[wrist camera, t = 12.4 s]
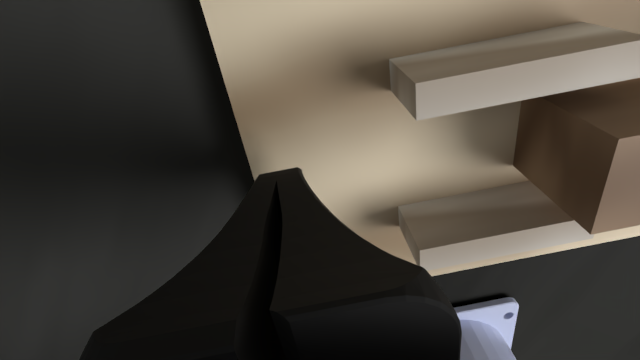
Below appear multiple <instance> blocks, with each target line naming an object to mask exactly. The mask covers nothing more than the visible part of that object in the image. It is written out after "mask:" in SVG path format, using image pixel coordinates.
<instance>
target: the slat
mask: <svg viewBox="0 0 640 360" xmlns="http://www.w3.org/2000/svg"><path fill="white" fill-rule="evenodd" d="M513 166H514V167H515V168H516V169H517V170H518V171H519V172H521V173H522V174H523V175H524V176H525V177H526V178H527V179H528V180H530V181H531V182H532V183H533V184H534V185H535V186H536V187H537V188H539V189H540V190H541V191H542V192H543V193H544V194H545V195H546V196H548V197H549V198H550V199H551V200H552V201H553V202H554V203H555V204H557V205H558V206H559V207H560V208H561V209H562V210H563V211H564V212H566V213H567V214H568V215H569V216H570V217H571V218H572V219H573V220H575V221H576V222H577V223H578V224H579V225H580V226H581V227H582V228H584V229H585V230H586V231H587V232H588V233H589V234H590V235H592V234H597V233H602V232H607V231H612V230H617V229H623V228H628V227H633V226H638V225H640V78H635V79H630V80H625V81H620V82H615V83H609V84H604V85H599V86H594V87H589V88H584V89H578V90H573V91H568V92H563V93H558V94H553V95H547V96H542V97H537V98H532V99H527V100H522V101H521V107H520V115H519V122H518V130H517V138H516V145H515V153H514V160H513Z"/></svg>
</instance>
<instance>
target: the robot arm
mask: <svg viewBox="0 0 640 360" xmlns="http://www.w3.org/2000/svg"><path fill="white" fill-rule="evenodd" d="M518 308H519V305H518V303H517V302H516V300H515V299H514V298H511V297H506V298H501V299H496V300H491V301H485V302H480V303H475V304H470V305H465V306H460V307H455V308H453V306H452V304H451V303H450V301H449V300H448V298H447V297H446V295H445V294H444V292H443V291H442V290H441V288H440V287H439V285H438V284H437V283H436V281H435V280H434V279H433V278H432V276H431V275H430V274H429V273H428V272H427V270H426V269H425V268H423V267H421V266H418V265H416V264H413V263H411V262H408V261H406V260H403V259H401V258H398V257H396V256H394V255H391V254H389V253H387V252H385V251H384V250H382V249H380V248H378V247H376V246H375V245H373V244H372V243H370V242H368V241H367V240H365V239H364V238H362V237H360V236H359V235H357V234H356V233H355V232H354V231H352V230H351V229H350V228H348V227H347V226H346V225H345V224H343V223H342V222H341V221H340V220H339V219H338V218H337V217H336V216H334V215H333V214H332V213H331V212H330V210H329V209H328V208H327V207H326V206H325V205H324V204H323V203H322V202H321V201H320V199H319V198H318V197H317V196H316V194H315V193H314V192H313V191H312V189H311V188H310V186H309V185H308V183H307V181H306V180H305V178H304V176H303V173H302V170H301V169H300V168H298V167H295V168H290V169H285V170H280V171H275V172H269V173H264V174H259V175H258V177H257V178H256V180H255V181H254V183H253V185H252V186H251V188H250V190H249V191H248V193H247V195H246V196H245V198H244V199H243V201H242V202H241V204H240V205H239V207H238V208H237V210H236V211H235V213H234V214H233V216H232V217H231V218H230V219H229V221H228V222H227V223H226V225H225V226H224V227H223V229H222V230H221V231H220V232H219V233H218V235H217V236H216V237H215V238H214V239H213V240H212V241H211V242H210V243H209V244H208V246H207V247H206V248H205V249H204V250H203V251H202V252H201V253H200V254H199V255H198V256H197V257H195V258H194V259H193V260H192V261H191V262H190V263H189V264H188V265H186V266H185V267H184V268H183V269H182V270H181V271H180V272H179V273H177V274H176V275H175V276H174V277H173V278H172V279H170V280H169V281H168V282H166V283H165V284H164V285H163V286H161V287H160V288H159V289H157V290H156V291H155V292H153V293H152V294H151V295H149V296H148V297H146V298H145V299H144V300H142V301H141V302H139V303H138V304H136V305H135V306H133V307H132V308H130V309H129V310H127V311H126V312H124V313H122V314H121V315H119V316H118V317H116V318H115V319H113V320H111V321H110V322H108V323H107V324H105V325H104V326H102V327H100V328H98V329H97V330H95V331H94V332H93V334H92V335H91V337H90V339H89V341H88V343H87V345H86V347H85V349H84V351H83V353H82V355H81V357H80V359H79V360H516V358H515V356H514V355H513V353H512V351H511V345H512V340H513V335H514V329H515V324H516V318H517V313H518Z"/></svg>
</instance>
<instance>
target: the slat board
mask: <svg viewBox="0 0 640 360" xmlns="http://www.w3.org/2000/svg"><path fill="white" fill-rule="evenodd" d="M200 3H201V6H202V10H203V13H204V16H205V20H206V23H207V26H208V30H209V33H210V36H211V39H212V43H213V46H214V49H215V53H216V56H217V59H218V63H219V66H220V69H221V72H222V76H223V79H224V82H225V86H226V89H227V92H228V95H229V99H230V102H231V105H232V109H233V112H234V115H235V119H236V122H237V125H238V128H239V132H240V135H241V138H242V142H243V145H244V148H245V152H246V155H247V158H248V161H249V165H250V168H251V171H252V175H253V178H254V181H255V180H256V178H257V177H258V175H259V174H264V173H269V172H275V171H280V170H285V169H290V168H295V167H298V168H300V169H301V170H302V173H303V176H304V178H305V180H306V181H307V183H308V185H309V186H310V188H311V189H312V191H313V192H314V193H315V194H316V196H317V197H318V198H319V199H320V201H321V202H322V203H323V204H324V205H325V206H326V207H327V208H328V209H329V210H330V212H331V213H332V214H333V215H334V216H336V217H337V218H338V219H339V220H340V221H341V222H342V223H343V224H345V225H346V226H347V227H348V228H350V229H351V230H352V231H354V232H355V233H356V234H357V235H359V236H360V237H362V238H364V239H365V240H367V241H368V242H370V243H372V244H373V245H375V246H376V247H378V248H380V249H382V250H384V251H385V252H387V253H389V254H391V255H394V256H396V257H398V258H401V259H403V260H406V261H408V262H411V263H413V264H416V265H418V266H421V267H423V268H425V269H426V270H427V272H428V273H429V274H430V275H431V276H435V275H440V274H446V273H451V272H456V271H461V270H466V269H471V268H476V267H481V266H486V265H492V264H497V263H502V262H507V261H512V260H517V259H522V258H527V257H533V256H538V255H543V254H548V253H553V252H558V251H563V250H568V249H573V248H579V247H584V246H589V245H594V244H599V243H604V242H609V241H614V240H619V239H625V238H630V237H635V236H640V225H638V226H633V227H628V228H623V229H617V230H612V231H607V232H602V233H597V234H592V235H590V234H589V233H588V232H587V231H586V230H585V229H584V228H582V227H581V226H580V225H579V224H578V223H577V222H576V221H575V220H573V219H572V218H571V217H570V216H569V215H568V214H567V213H566V212H564V211H563V210H562V209H561V208H560V207H559V206H558V205H557V204H555V203H554V202H553V201H552V200H551V199H550V198H549V197H548V196H546V195H545V194H544V193H543V192H542V191H541V190H540V189H539V188H537V187H536V186H535V185H534V184H533V183H532V182H531V181H530V180H528V179H527V178H526V177H525V176H524V175H523V174H522V173H521V172H519V171H518V170H517V169H516V168H515V167H514V166H513V160H514V153H515V145H516V138H517V130H518V122H519V115H520V107H521V101H522V100H527V99H532V98H537V97H542V96H547V95H553V94H558V93H563V92H568V91H573V90H578V89H584V88H589V87H594V86H599V85H604V84H609V83H615V82H620V81H625V80H630V79H635V78H640V0H200Z"/></svg>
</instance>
